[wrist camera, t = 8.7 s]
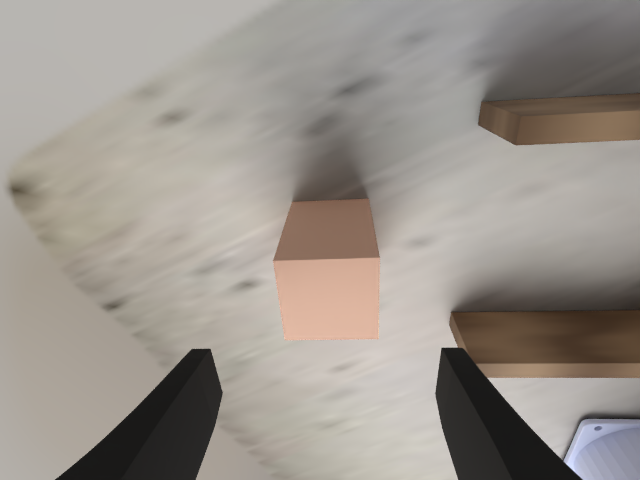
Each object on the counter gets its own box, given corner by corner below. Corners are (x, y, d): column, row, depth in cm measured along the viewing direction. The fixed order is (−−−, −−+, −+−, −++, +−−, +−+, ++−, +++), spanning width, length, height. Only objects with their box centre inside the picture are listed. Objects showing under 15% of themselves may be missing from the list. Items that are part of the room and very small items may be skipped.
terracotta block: (368, 198, 18) (379, 257, 13) (368, 263, 20) (378, 339, 15) (292, 201, 19) (273, 260, 13) (299, 266, 21) (285, 340, 15)
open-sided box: (773, 85, 15) (906, 96, 12) (656, 323, 21) (719, 377, 18) (481, 101, 16) (521, 116, 12) (449, 325, 22) (469, 377, 18)
